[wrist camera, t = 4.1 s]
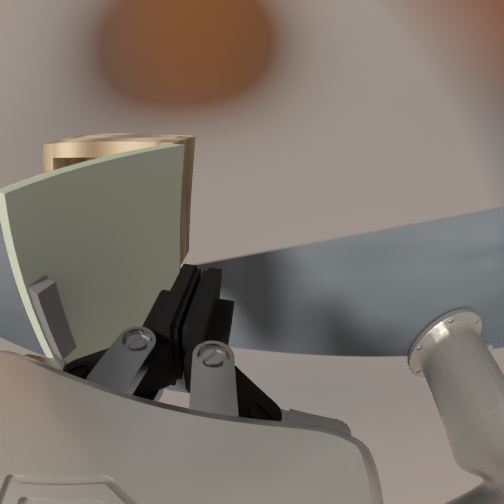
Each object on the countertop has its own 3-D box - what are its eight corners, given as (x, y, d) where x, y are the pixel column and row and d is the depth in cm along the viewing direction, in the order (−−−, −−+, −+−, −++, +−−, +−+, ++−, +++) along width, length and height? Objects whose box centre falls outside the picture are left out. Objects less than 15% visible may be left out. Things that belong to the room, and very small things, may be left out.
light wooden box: (195, 136, 22) (172, 143, 17) (188, 250, 27) (169, 284, 22) (82, 134, 22) (43, 144, 17) (87, 235, 27) (56, 261, 22)
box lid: (171, 143, 17) (195, 145, 16) (169, 285, 22) (188, 292, 21) (-5, 190, 7) (12, 196, 6) (63, 388, 12) (85, 405, 11)
